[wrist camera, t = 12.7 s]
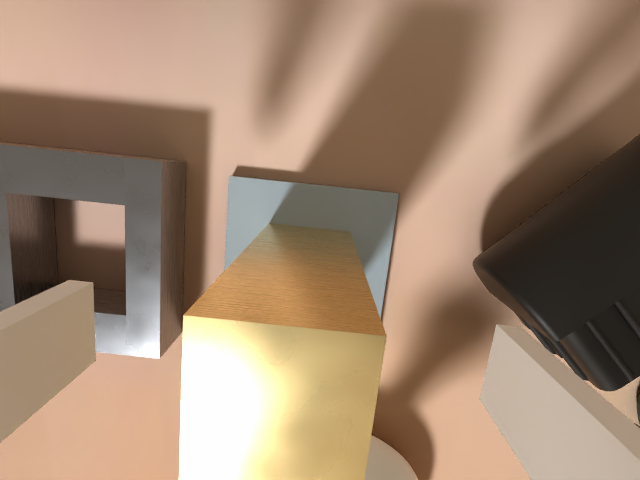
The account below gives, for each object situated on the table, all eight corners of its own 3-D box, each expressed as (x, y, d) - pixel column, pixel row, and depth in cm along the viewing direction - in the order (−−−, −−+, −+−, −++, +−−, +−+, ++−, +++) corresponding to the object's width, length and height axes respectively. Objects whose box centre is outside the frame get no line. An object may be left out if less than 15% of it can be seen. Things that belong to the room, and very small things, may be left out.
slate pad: (224, 328, 21) (221, 333, 21) (232, 175, 20) (229, 176, 19) (374, 344, 22) (376, 348, 21) (396, 193, 20) (399, 194, 19)
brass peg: (263, 299, 20) (179, 485, 9) (269, 222, 19) (183, 315, 8) (340, 307, 20) (360, 502, 9) (350, 231, 20) (386, 336, 8)
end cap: (607, 126, 19) (758, 106, 12) (675, 228, 20) (848, 261, 13) (450, 246, 20) (510, 287, 14) (521, 335, 21) (609, 413, 15)
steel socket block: (-120, 300, 21) (-191, 322, 19) (-149, 126, 19) (-234, 119, 16) (182, 331, 22) (159, 358, 19) (186, 161, 19) (161, 161, 17)
